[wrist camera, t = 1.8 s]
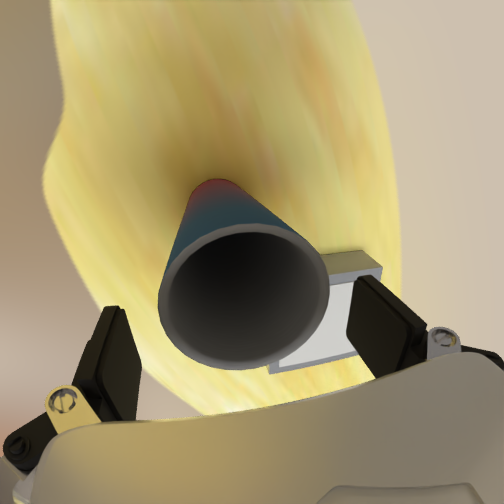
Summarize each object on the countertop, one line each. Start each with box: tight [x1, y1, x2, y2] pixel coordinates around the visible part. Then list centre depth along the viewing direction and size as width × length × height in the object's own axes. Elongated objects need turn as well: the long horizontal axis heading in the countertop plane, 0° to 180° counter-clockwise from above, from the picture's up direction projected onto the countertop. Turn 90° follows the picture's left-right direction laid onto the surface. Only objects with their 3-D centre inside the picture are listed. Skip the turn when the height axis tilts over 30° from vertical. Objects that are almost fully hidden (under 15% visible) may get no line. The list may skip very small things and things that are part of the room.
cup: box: [158, 179, 330, 370], centre depth 18 cm, size 7×7×15 cm
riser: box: [266, 250, 383, 374], centre depth 29 cm, size 11×11×4 cm
